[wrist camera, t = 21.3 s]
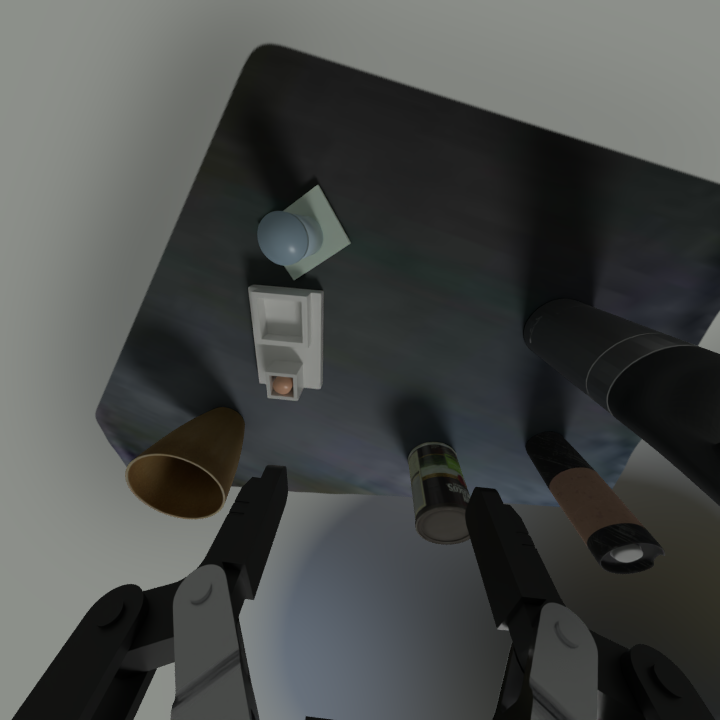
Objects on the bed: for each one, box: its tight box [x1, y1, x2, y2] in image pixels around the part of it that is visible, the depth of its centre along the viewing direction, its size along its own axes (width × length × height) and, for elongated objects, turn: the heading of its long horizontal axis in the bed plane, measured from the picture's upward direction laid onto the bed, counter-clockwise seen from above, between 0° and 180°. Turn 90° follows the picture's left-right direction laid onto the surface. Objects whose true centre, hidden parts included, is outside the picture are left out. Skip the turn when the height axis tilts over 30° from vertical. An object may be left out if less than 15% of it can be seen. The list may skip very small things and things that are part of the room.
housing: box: [248, 285, 324, 401], centre depth 42 cm, size 11×17×6 cm, turn 176°
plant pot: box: [125, 407, 245, 519], centre depth 47 cm, size 15×15×16 cm
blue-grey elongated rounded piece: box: [257, 211, 323, 266], centre depth 32 cm, size 5×5×10 cm
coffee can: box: [408, 442, 470, 544], centre depth 49 cm, size 10×10×14 cm
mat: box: [284, 185, 351, 280], centre depth 37 cm, size 10×8×1 cm
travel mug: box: [526, 432, 665, 574], centre depth 43 cm, size 8×8×20 cm
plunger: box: [273, 376, 293, 394], centre depth 44 cm, size 3×3×4 cm
